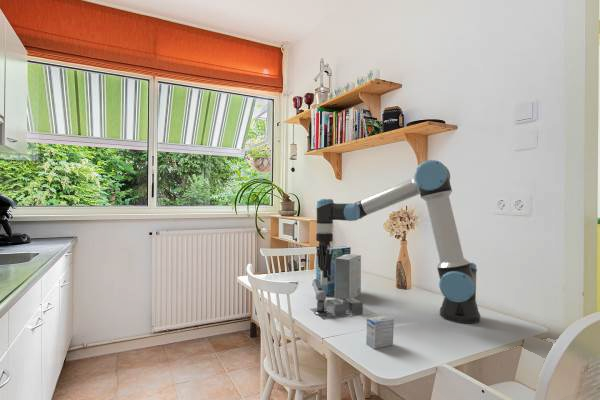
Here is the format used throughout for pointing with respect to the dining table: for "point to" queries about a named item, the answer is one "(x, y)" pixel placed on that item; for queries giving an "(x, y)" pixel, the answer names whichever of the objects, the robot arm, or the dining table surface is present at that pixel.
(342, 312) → the power supply block
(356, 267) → the hard drive box
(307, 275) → the dining table surface
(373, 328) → the medicine box
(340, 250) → the blue printed carton
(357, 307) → the block
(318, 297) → the cable arm
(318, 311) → the server tray
